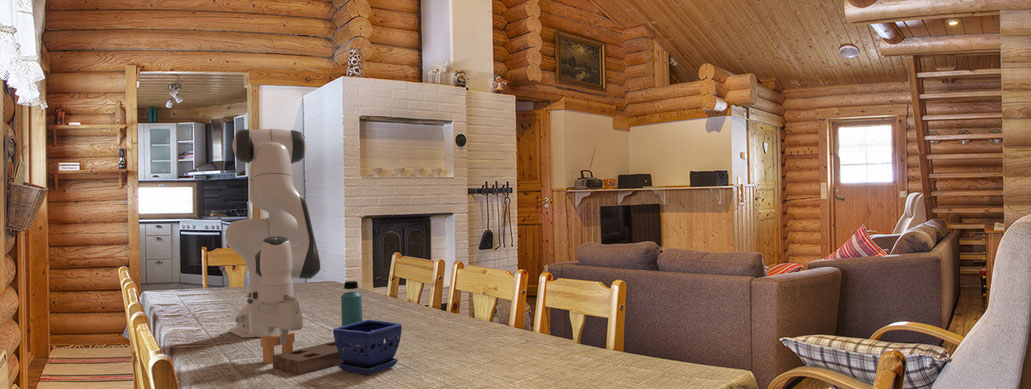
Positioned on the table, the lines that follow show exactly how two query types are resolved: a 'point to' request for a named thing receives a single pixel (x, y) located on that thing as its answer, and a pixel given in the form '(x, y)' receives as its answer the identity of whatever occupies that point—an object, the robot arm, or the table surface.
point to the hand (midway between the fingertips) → (277, 342)
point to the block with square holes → (308, 359)
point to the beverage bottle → (351, 304)
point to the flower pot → (367, 346)
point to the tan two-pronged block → (272, 341)
